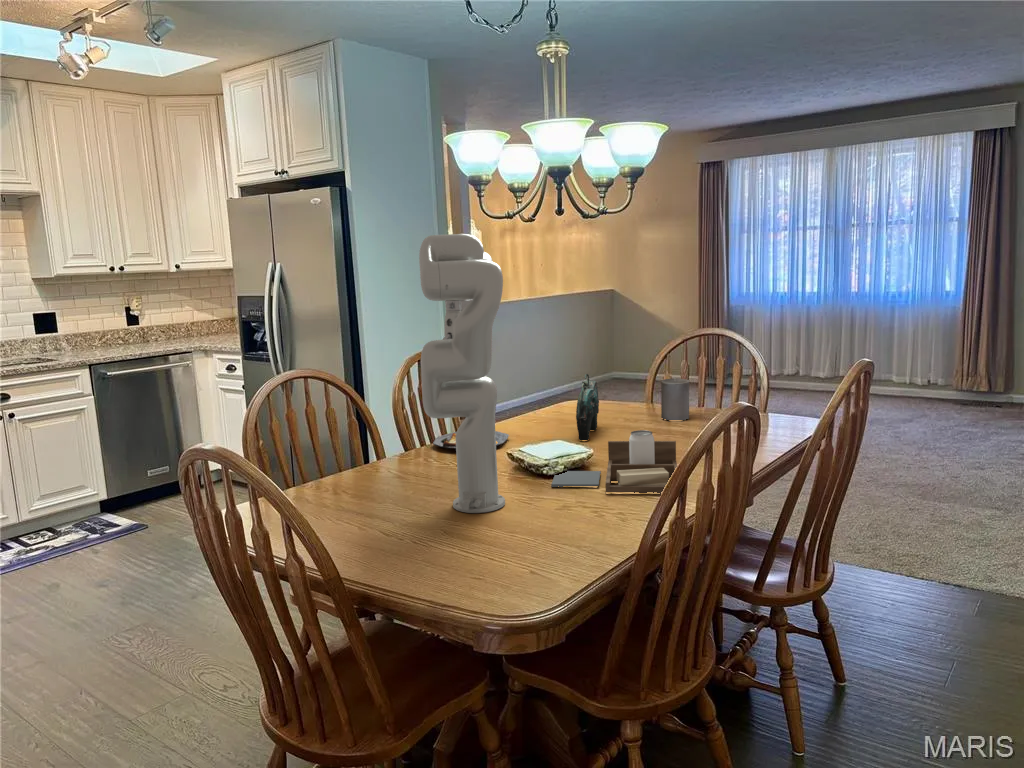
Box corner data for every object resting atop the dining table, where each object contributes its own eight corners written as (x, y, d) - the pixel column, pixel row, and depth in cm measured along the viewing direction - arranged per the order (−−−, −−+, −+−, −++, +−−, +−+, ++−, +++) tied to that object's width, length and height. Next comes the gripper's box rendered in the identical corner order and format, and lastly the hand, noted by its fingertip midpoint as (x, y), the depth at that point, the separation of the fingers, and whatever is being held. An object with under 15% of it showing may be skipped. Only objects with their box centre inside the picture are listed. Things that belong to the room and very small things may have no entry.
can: (654, 480, 195) (653, 435, 193) (629, 480, 196) (628, 435, 194) (655, 473, 201) (654, 429, 199) (630, 473, 203) (629, 429, 201)
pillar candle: (657, 416, 270) (657, 375, 268) (684, 415, 271) (683, 374, 269) (666, 423, 261) (665, 380, 258) (693, 421, 262) (693, 378, 259)
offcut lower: (667, 493, 186) (667, 484, 186) (618, 494, 187) (618, 484, 187) (666, 487, 191) (665, 478, 191) (618, 488, 192) (618, 478, 192)
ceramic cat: (584, 427, 259) (583, 370, 255) (603, 428, 257) (602, 370, 254) (573, 441, 240) (571, 379, 237) (593, 442, 238) (591, 379, 235)
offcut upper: (668, 482, 187) (668, 472, 186) (621, 485, 186) (620, 475, 186) (663, 477, 192) (663, 467, 191) (616, 480, 191) (616, 470, 190)
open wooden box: (680, 494, 183) (680, 463, 181) (605, 494, 186) (604, 463, 184) (675, 469, 204) (675, 440, 203) (609, 469, 207) (608, 441, 206)
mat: (598, 488, 191) (598, 484, 191) (551, 487, 193) (551, 484, 193) (600, 474, 203) (600, 471, 202) (556, 474, 205) (556, 471, 204)
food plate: (499, 454, 228) (498, 442, 228) (425, 454, 233) (424, 443, 232) (514, 436, 253) (513, 426, 252) (447, 437, 257) (446, 427, 257)
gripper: (450, 308, 198) (454, 373, 200) (488, 304, 212) (491, 364, 214) (428, 309, 202) (432, 372, 204) (467, 304, 216) (470, 364, 219)
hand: (462, 368), depth 209 cm, fingers open, 9 cm apart
